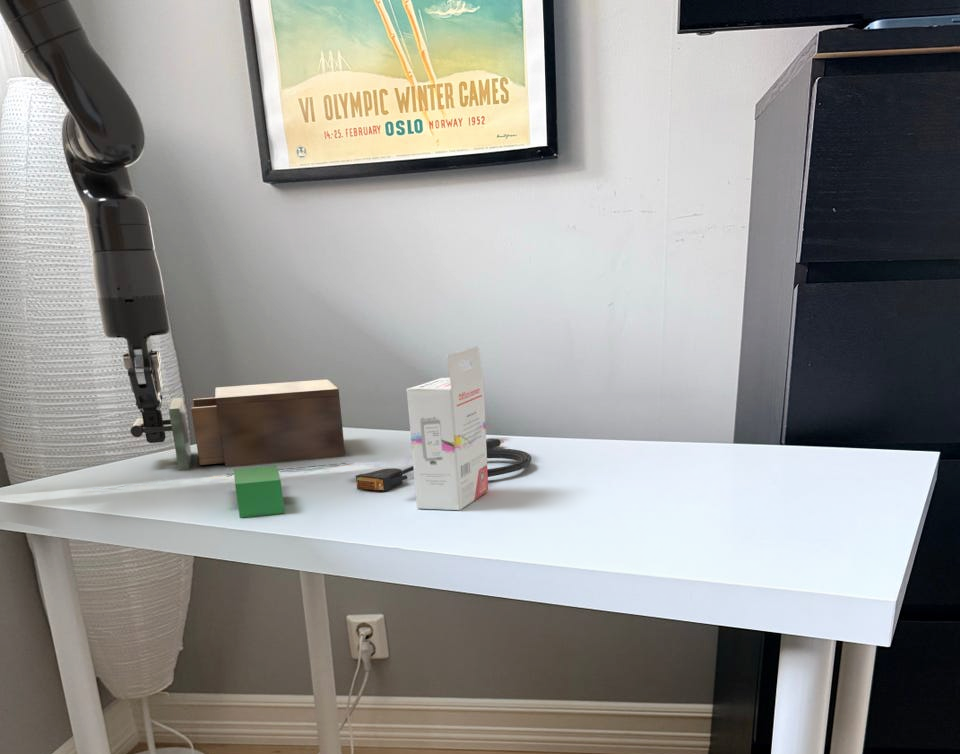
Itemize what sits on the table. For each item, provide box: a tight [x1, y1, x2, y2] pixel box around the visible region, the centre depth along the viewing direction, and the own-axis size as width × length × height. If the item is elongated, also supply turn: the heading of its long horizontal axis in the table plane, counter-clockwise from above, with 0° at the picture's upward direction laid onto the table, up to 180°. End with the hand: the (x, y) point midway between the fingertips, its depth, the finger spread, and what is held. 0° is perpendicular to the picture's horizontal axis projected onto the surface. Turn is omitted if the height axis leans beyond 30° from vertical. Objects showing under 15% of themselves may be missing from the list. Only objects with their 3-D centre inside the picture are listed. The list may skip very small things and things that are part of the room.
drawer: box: [130, 396, 225, 471], centre depth 117 cm, size 18×11×7 cm, turn 105°
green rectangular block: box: [233, 465, 285, 519], centre depth 95 cm, size 4×8×3 cm, turn 15°
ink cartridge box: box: [405, 345, 489, 511], centre depth 92 cm, size 9×5×15 cm, turn 160°
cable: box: [355, 438, 532, 493], centre depth 108 cm, size 14×28×2 cm, turn 146°
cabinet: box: [214, 379, 347, 475], centre depth 118 cm, size 15×13×9 cm
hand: (156, 441), depth 115 cm, fingers closed
